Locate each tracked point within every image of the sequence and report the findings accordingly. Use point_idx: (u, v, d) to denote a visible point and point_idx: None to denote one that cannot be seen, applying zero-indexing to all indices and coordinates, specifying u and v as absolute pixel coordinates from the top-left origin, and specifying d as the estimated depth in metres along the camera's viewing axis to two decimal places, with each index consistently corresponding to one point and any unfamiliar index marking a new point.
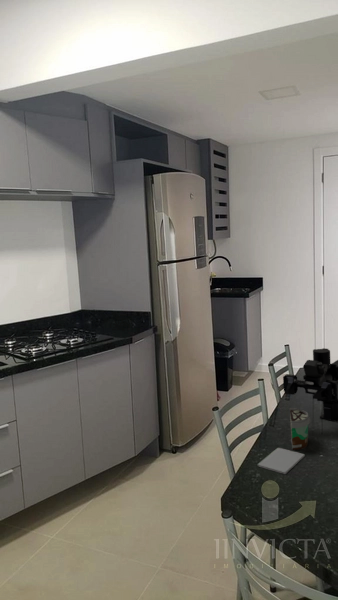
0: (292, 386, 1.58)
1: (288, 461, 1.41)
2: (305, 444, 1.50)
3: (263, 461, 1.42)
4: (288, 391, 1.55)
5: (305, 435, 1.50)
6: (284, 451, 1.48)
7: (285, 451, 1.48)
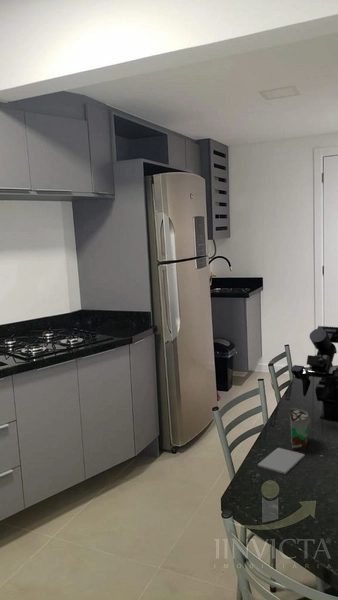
0: (307, 381, 1.63)
1: (288, 461, 1.41)
2: (305, 444, 1.50)
3: (263, 461, 1.42)
4: (305, 392, 1.62)
5: (305, 435, 1.50)
6: (284, 451, 1.48)
7: (285, 451, 1.48)
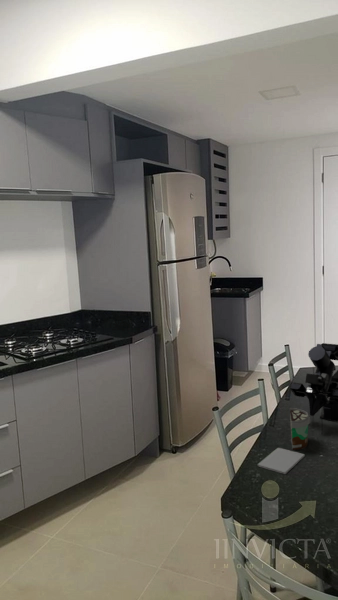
0: (313, 400, 1.61)
1: (288, 461, 1.41)
2: (305, 444, 1.50)
3: (263, 461, 1.42)
4: None
5: (305, 435, 1.50)
6: (284, 451, 1.48)
7: (285, 451, 1.48)
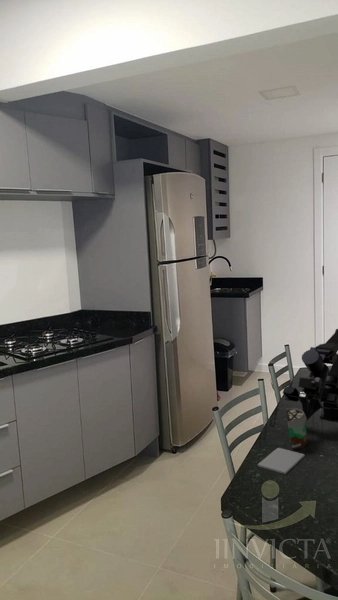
0: (307, 405, 1.57)
1: (288, 461, 1.41)
2: (304, 442, 1.50)
3: (263, 461, 1.42)
4: None
5: (303, 433, 1.50)
6: (284, 451, 1.48)
7: (285, 451, 1.48)
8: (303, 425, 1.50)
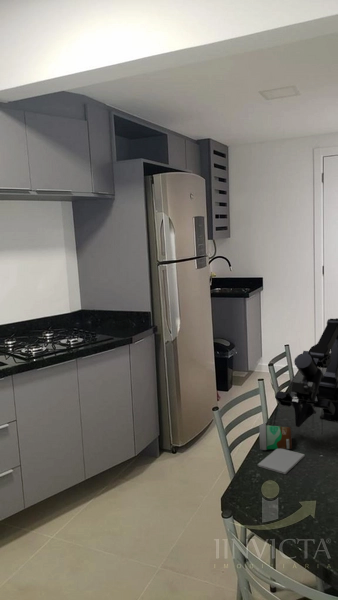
0: (299, 410, 1.53)
1: (288, 461, 1.41)
2: (288, 433, 1.51)
3: (263, 461, 1.42)
4: None
5: (277, 433, 1.52)
6: (284, 451, 1.48)
7: (285, 451, 1.48)
8: (269, 431, 1.52)
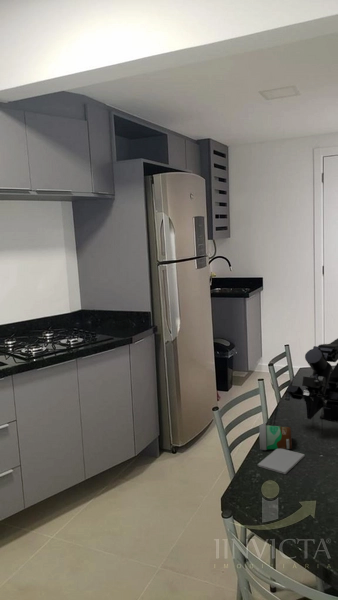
0: (310, 403, 1.59)
1: (288, 461, 1.41)
2: (288, 433, 1.51)
3: (263, 461, 1.42)
4: None
5: (277, 433, 1.52)
6: (284, 451, 1.48)
7: (285, 451, 1.48)
8: (269, 431, 1.52)
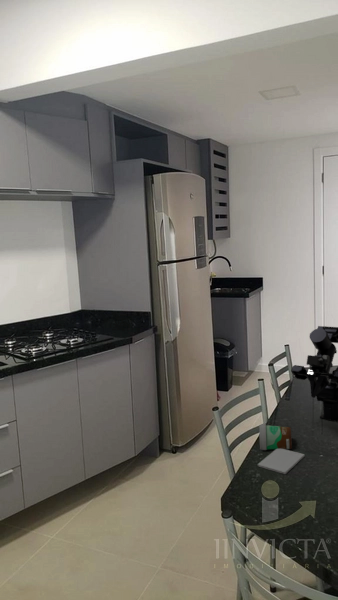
0: (315, 382, 1.62)
1: (288, 461, 1.41)
2: (288, 433, 1.51)
3: (263, 461, 1.42)
4: None
5: (277, 433, 1.52)
6: (284, 451, 1.48)
7: (285, 451, 1.48)
8: (269, 431, 1.52)
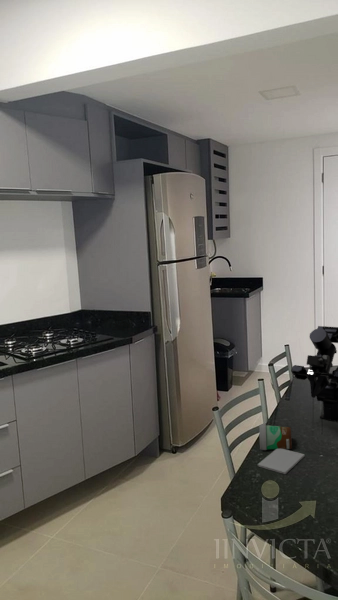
0: (315, 382, 1.62)
1: (288, 461, 1.41)
2: (288, 433, 1.51)
3: (263, 461, 1.42)
4: None
5: (277, 433, 1.52)
6: (284, 451, 1.48)
7: (285, 451, 1.48)
8: (269, 431, 1.52)
